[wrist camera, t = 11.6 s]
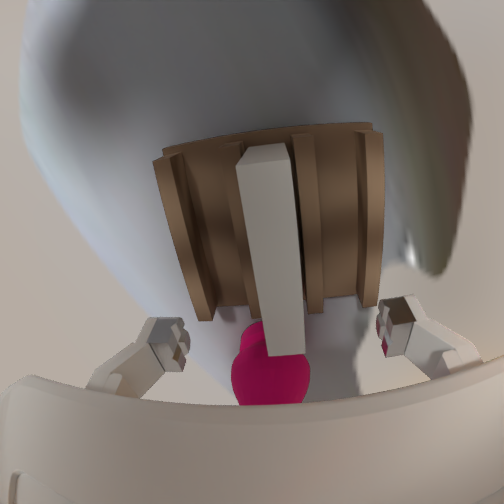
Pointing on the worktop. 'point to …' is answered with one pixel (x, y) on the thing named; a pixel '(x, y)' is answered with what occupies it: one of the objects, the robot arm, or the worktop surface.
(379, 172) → the walnut rack
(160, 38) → the worktop surface
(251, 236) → the clay strip
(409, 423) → the robot arm
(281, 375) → the pepper mill
